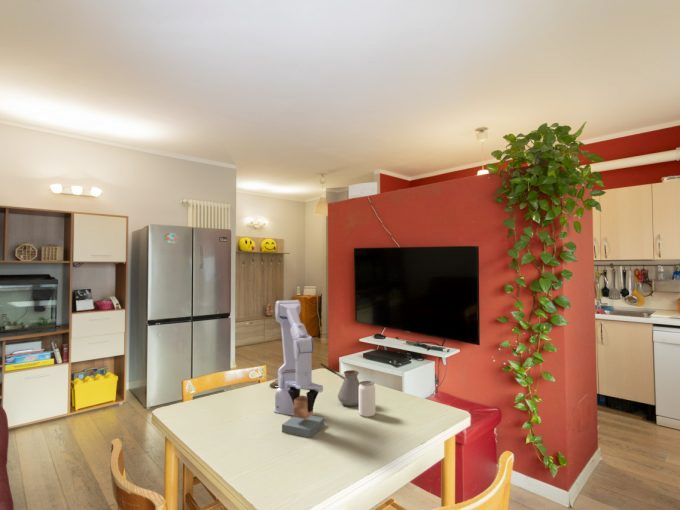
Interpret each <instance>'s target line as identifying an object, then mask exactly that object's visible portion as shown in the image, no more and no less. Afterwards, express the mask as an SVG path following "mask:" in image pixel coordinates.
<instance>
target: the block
mask: <svg viewBox="0 0 680 510" xmlns="http://www.w3.org/2000/svg"><path fill="white" fill-rule="evenodd" d="M313 415H314V410H313V411H311V412H308V399H307V395H303V394H300V396H299V397H297V398H296V399H294V415H293V416H294V417H297V418H302V419H307V418H309V417H310V416H313Z"/></svg>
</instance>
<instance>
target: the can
mask: <svg viewBox="0 0 680 510" xmlns="http://www.w3.org/2000/svg"><path fill="white" fill-rule="evenodd" d="M359 383H360V385H359V405H358V414H359V416H361V417H364V418H370V417H374V416H375V415H376V386H375V382H374V381H373V380H372V381H371V380H361V381H359Z"/></svg>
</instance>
